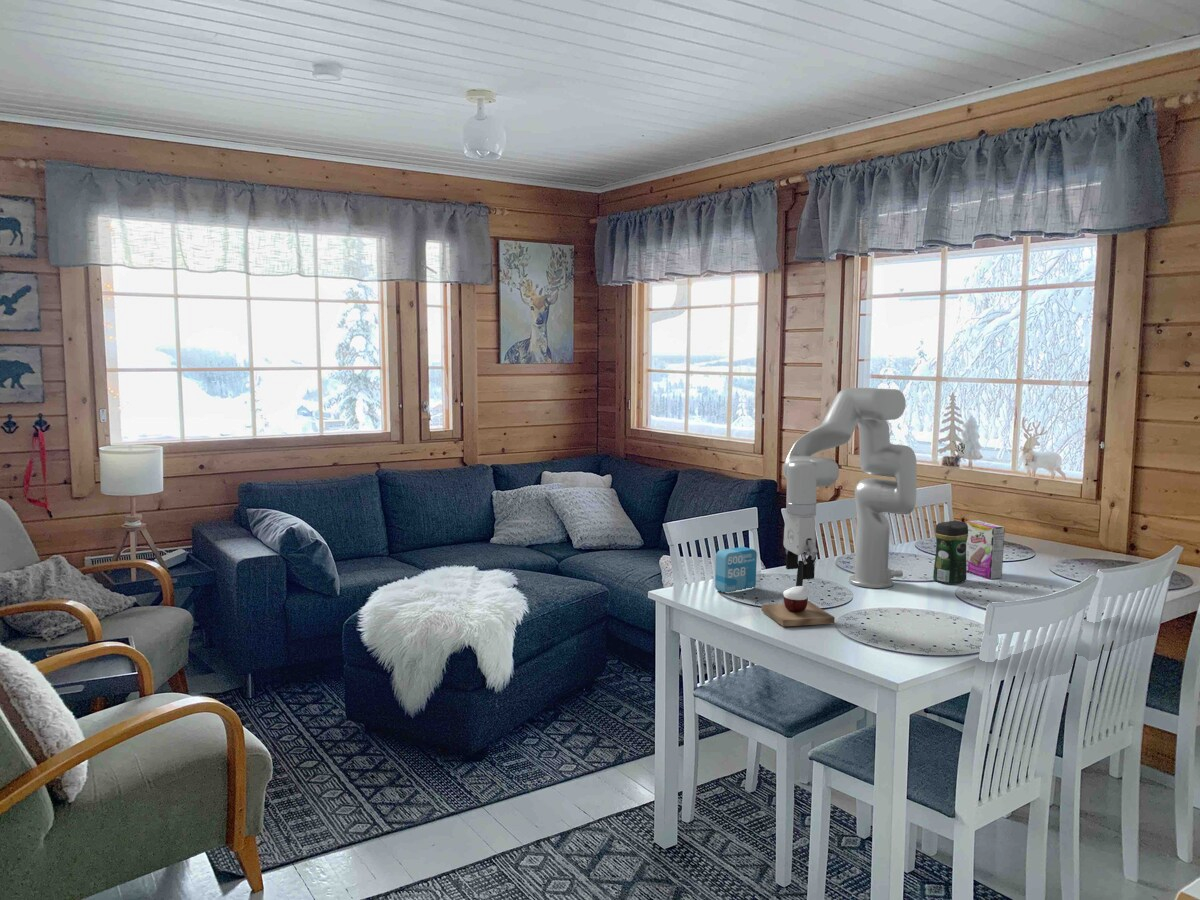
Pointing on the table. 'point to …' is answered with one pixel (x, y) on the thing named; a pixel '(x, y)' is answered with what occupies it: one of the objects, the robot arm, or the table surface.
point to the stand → (797, 615)
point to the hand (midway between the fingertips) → (799, 573)
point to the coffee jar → (950, 552)
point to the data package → (735, 569)
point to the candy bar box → (985, 549)
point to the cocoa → (797, 594)
